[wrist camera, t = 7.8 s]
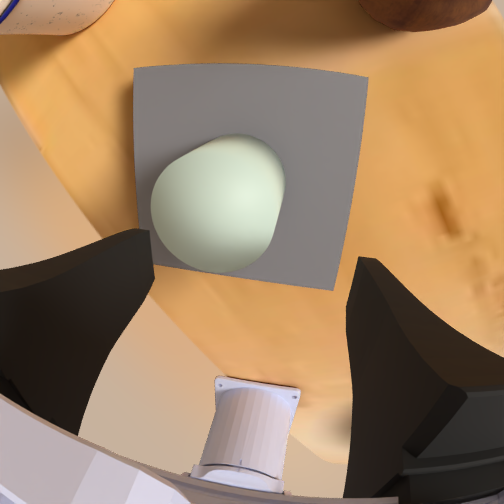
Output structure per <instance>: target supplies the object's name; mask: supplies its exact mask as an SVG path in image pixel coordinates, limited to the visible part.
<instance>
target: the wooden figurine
mask: <svg viewBox="0 0 504 504" xmlns="http://www.w3.org/2000/svg"><path fill="white" fill-rule="evenodd" d="M491 1H492V0H359V2H360V5H361V6H362V7H363V8H364V9H365V10H366V11H367V12H368V13H369V15H370V16H371V17H372V18H373V19H374V20H376V21H378V22H380V23H382V24H384V25H386V26H388V27H390V28H392V29H394V30H401V31H410V32H419V31H430V30H436V29H441V28H446V27H450V26H455V25H458V24H461V23H464V22H466V21H468V20H470V19H472V18H474V17H476V16H478V15H479V14H481V13H482V12H484V11H486V10H487V8H488V7H489V5H490V3H491Z"/></svg>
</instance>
